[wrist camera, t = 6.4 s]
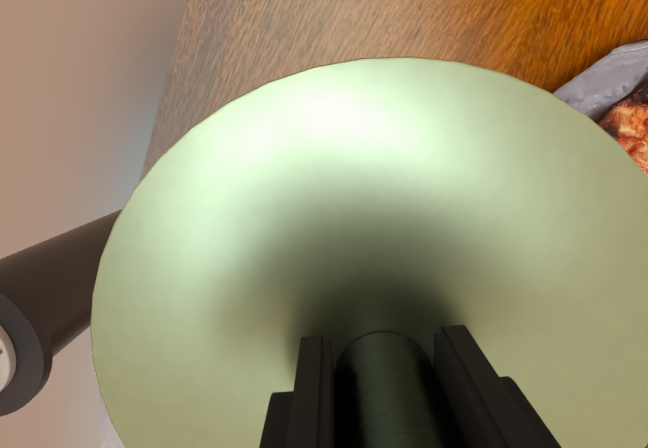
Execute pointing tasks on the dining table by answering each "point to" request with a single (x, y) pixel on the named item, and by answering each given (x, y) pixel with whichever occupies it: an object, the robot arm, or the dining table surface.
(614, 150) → the lid
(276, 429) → the robot arm
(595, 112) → the food plate
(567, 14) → the dining table surface
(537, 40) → the dining table surface
